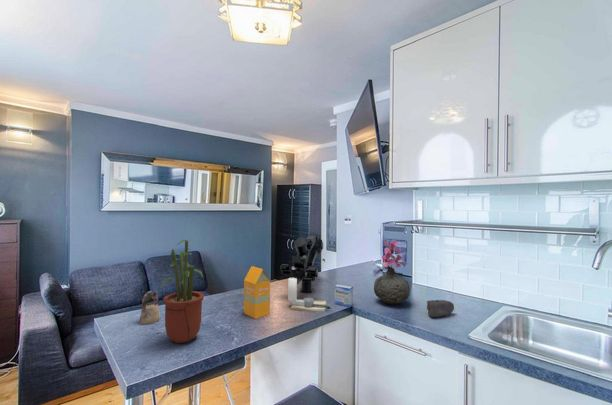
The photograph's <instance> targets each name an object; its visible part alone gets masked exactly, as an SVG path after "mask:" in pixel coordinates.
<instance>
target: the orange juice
mask: <svg viewBox="0 0 612 405" xmlns="http://www.w3.org/2000/svg"><path fill="white" fill-rule="evenodd" d="M249 268H250V269H249V271H248V272H247V274H246V276H245V278H244V279H243V314H244V315H247V316H249V317H251V318H252V319H259V318H262V317H264V316H268V315H270V308H271V306H270V305H271V280H270V279H269V277H268V276H267V274H266V273H265V272H266V271H264V269H263V268H260V267H257V266H254V265H251V267H249Z"/></svg>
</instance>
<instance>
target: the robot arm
mask: <svg viewBox="0 0 612 405" xmlns="http://www.w3.org/2000/svg"><path fill="white" fill-rule="evenodd" d="M293 244H294V248H295V250H296V252H297V255H293V256H292V260H291V264H292V263H293V264H292V266H291V267H290V264H284V263H282V264H281V265H280V267H279V269H280V272H281V274H282V275H285V276H289V275H290V274H291V275H292V276H291V277H292V278H297V286H298V285H299V284H300V283H301V288H300V290H299V292H300V293H311V294H312V292H313V291H314V290H313V287H312V286H313V282H314V281H316V278H318V277H319V271H318V267H317V266H314V264H315V262H316V259H317V256H318V255H319V254H320V253H322V251H323V250H324V242H323V240H322V239H321V238H320V237H319V235H317V234H311V235H309V236H308V237H306V238H304V236H299V238H296V239H295V240H294V241H293Z"/></svg>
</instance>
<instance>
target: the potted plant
mask: <svg viewBox="0 0 612 405" xmlns="http://www.w3.org/2000/svg"><path fill="white" fill-rule="evenodd" d="M181 243H184V252H183V251H182V252H181V251H180V252H179V253H178V256H179V258H177V256H176V252H175V250H174V248H172V249H171V251H170V252H171V253H170V254H171V255H170V256H171V258H172V261H171V262H170V263H169V265H170V267H172V266H173V268H174V275H175V277H169V278H166V279H164V280H163V281H162V282H161V283H160V285H159V287H158V288H157V290H155V291H156V292H157V293H158V291H159V290H160V288H162V287H163V285H165V284H166V283H168V282H169V281H171V280H174V278H175V284H176V292H172V293H170V294H168V295H166V296H164V297H163V299H162V300H163V302H162V304H164V305H165V307H164V327H165V332H166V336H167V337H168V339H169V340H170V341H172V342H174V343H177V344H184V343H188V342H190V341H192V340H193V339H194V338H196V336H197V335H198V333H199V332H200V329H201V325H202V324H201V323H202V315H203V314H202V309H203V308H202V305H203V302H202V301H203V300H204V297H205V294H204V293H203V292H201V291H197V290H195V291H194V290H193V288H194V286H193V283H194V272H197V273H199V274H200V276H201V278H202V280H203V279H204V278H203V271H201V270H200V269H198V268H195V266H194V265H191V264H190V263H189V262H188V259H189V258H188V257H189V255H192V252H189V240H188V239H182V240H181V241H180V242H178V243H177V244H176V245H175V247H178V245H180V244H181ZM183 258H184V261H183ZM178 260H179V267H178ZM191 263H196V262H194V261H193V262H191ZM179 268H180V269H179ZM179 272H180V276H179Z"/></svg>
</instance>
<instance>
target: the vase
mask: <svg viewBox="0 0 612 405" xmlns="http://www.w3.org/2000/svg"><path fill="white" fill-rule="evenodd" d="M399 243H400V241H395V240H393V241H392V242H391V243H389V242H388V241H387V240H384V241H383V242H382V244H384V245H386V247H385V248H384V255H382V256H381V259H382V260H383V261H384V262H382V266H383V267H384V268H382V269H379V270H377V271H376V272H375V273H374V275H373V277H375V276H376V275H377V274H378V273H380V271H382V270H383V269H385V270H386V272H385V273H384V274H382V275H380V276H378V277H377V278H376V279H375V280H374V284H373V291H374V294H375V296H376V297H377V298H378V299H379V300H381V301H382V302H384V304H386V305H389V306H398V305H399V304H400V303H403V302H404V301H406V300H408V299H409V297H410V295H411V294H410V293H411V286H410V283H409V281H408V280H407V279H406V278H404V277H402V276H401V275H399V274H397V273H396V270H395V269H396V268H399V267H401V265H402V266H403V267H404V268H405V267H406V262H403V261H401V260H402V259H403V256H401V255H403V253H402V251H401V249H400V248H399V247H396V246H397V245H398V244H399ZM395 252H398V253H397V254H396V256H395V255H394V253H395ZM394 265H395V267H394V268H395V269H394V268H393V266H394Z"/></svg>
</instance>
